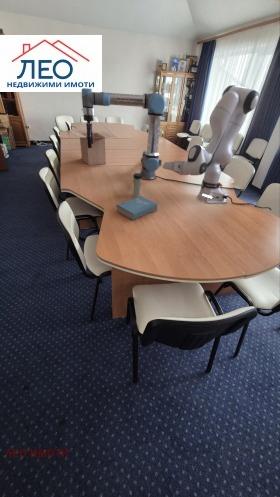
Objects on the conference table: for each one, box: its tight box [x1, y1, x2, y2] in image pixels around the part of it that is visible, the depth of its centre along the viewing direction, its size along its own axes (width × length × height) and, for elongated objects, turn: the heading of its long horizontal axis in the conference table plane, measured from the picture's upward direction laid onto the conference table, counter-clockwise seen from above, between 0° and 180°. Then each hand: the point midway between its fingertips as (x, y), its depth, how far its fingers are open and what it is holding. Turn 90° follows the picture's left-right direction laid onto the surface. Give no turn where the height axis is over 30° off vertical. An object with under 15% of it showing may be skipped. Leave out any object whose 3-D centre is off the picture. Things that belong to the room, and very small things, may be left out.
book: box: [116, 195, 159, 221], centre depth 148 cm, size 23×16×5 cm
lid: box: [132, 172, 142, 180], centre depth 161 cm, size 6×6×2 cm
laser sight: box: [140, 156, 163, 166], centre depth 237 cm, size 10×22×10 cm, turn 78°
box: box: [70, 129, 114, 166], centre depth 229 cm, size 44×36×27 cm
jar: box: [132, 178, 142, 198], centre depth 165 cm, size 5×5×16 cm
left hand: (90, 146), depth 173 cm, fingers open, 13 cm apart
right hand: (167, 168), depth 156 cm, fingers open, 8 cm apart
